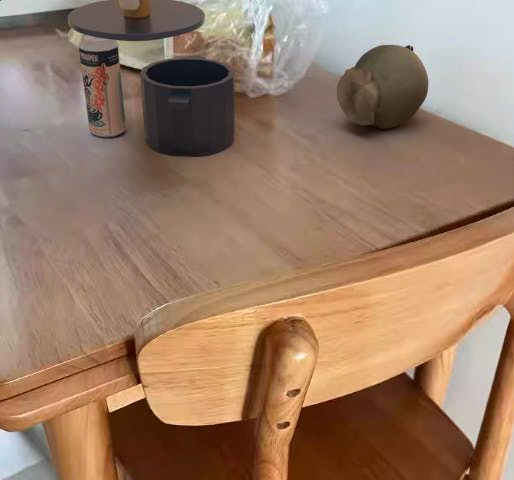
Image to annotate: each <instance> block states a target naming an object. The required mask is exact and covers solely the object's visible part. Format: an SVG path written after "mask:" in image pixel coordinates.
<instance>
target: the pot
mask: <svg viewBox="0 0 514 480" xmlns="http://www.w3.org/2000/svg"><path fill="white" fill-rule="evenodd" d="M235 75H236V73H235V69H234V68H232V66H230V65H229V64H227V63H224V62H222V61H219V60H215V59H210V58H206V57H205V56H186V57H184V56H183V57H173V58H166V59H161V60H158V61H154V62H151V63H149V64H148V65H145V66H144V67H142V69H141V71H140V73H139V80H140V93H141V94H140V95H141V104H142V116H143V127H144V129H143V130H144V138H145V141H146V145H148V146H149V147H150V148H151V149H152V150H154V151H156V152H157V153H160V154H163V155H167V156H173V157H183V158H184V157H185V158H194V157H195V158H196V157H204V156H210V155H211V156H212V155H214V154H215V155H216V154H218V153H221V152H223V151H225V150H227V149H229V148H230V147H231V146H232V145H233V143H234V141H235V134H236V96H235V94H236V93H235V92H236V82H235V81H236V79H235V77H236V76H235Z"/></svg>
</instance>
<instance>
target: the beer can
mask: <svg viewBox="0 0 514 480" xmlns="http://www.w3.org/2000/svg"><path fill="white" fill-rule="evenodd" d="M79 41H80V42H79V43H78V45H77V46H78V53H79V61H80V67H81V76H82V83H83V90H84V91H83V93H84V98H85V107H86V114H87V121H88V122H87V123H88V130H89V132H90V133H91V134H93V135H96V136H97V137H99V138H114V137H118V136H120V135H122V133H124V132H125V131H126V130H127V125H126V124H127V123H126V114H125V104H124V103H125V102H124V95H123V94H124V93H123V84H122V73H121V63H120V54H119V42H118V40H111V39H104V38H97V37H93V36H88V35H85V34H82V35H81V37H80V40H79Z"/></svg>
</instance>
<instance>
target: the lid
mask: <svg viewBox="0 0 514 480" xmlns="http://www.w3.org/2000/svg"><path fill="white" fill-rule="evenodd" d="M205 21H206V14H205V11H204V10H203V9H201V8H200V7H198V6H197V5H194V4H191V3H189V2H185V1H184V2H183V1H181V0H142V3H141V5H140V6H139V8H138V9H137V10H123V9H121V8H120V6H119V2H118V0H99V1H94V2H91V3H87V4H83V5H81V6H79V7H76V8H74V9H73V10H72V11H70V12H69V13H68V15H67V24H68V26H69V27H70V29H72V30H73V31H75V32H77V33H79V34H82V35H84V34H85V35H88V36H93V37H97V38H104V39H111V40H116V41H120V42H148V41H149V42H150V41H156V40H163V39H167V38H173V37H177V36H178V37H179V36H182V35H186V34H189V33H192V32H193V31H196V30H198V29H200V28H201V27H202V26H203V25H204V24H205Z"/></svg>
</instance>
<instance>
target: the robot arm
mask: <svg viewBox="0 0 514 480" xmlns="http://www.w3.org/2000/svg"><path fill="white" fill-rule="evenodd" d="M118 2H119V6H120V8H121V9H123V10H137V9H138V8H139V6H140V5H141V3H142V0H118Z"/></svg>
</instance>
